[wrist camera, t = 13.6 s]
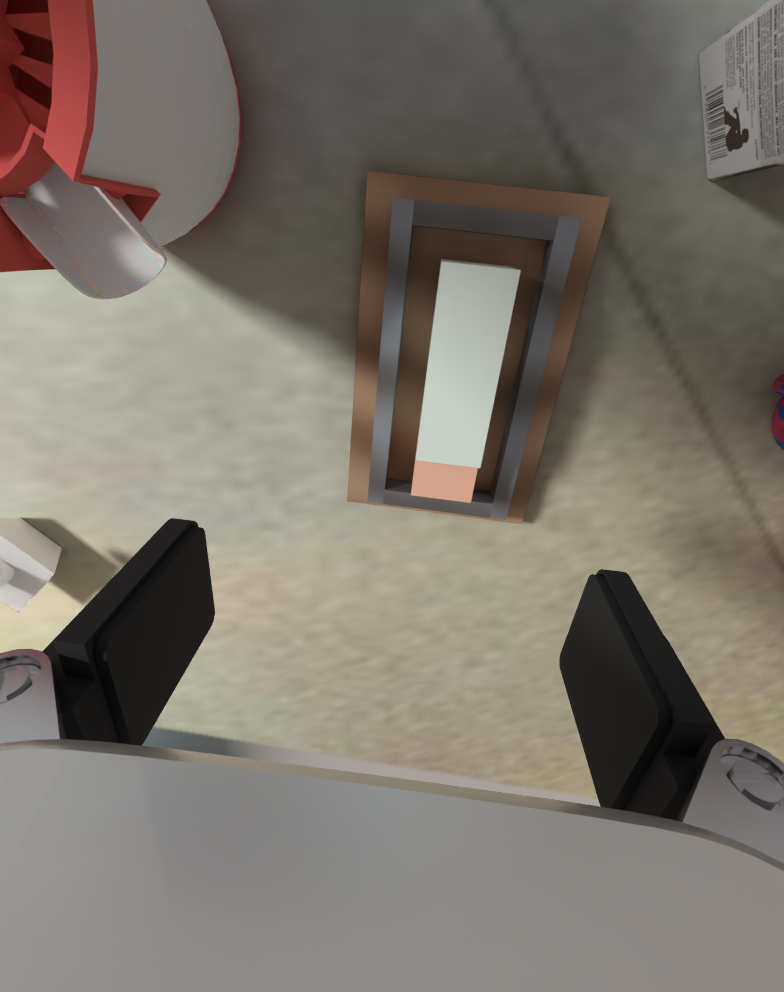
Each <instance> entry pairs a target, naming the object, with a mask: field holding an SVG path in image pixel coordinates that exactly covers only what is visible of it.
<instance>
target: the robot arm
mask: <svg viewBox="0 0 784 992" xmlns="http://www.w3.org/2000/svg"><path fill="white" fill-rule="evenodd" d="M214 615H215V608H214V600H213V592H212V585H211V577H210V569H209V561H208V553H207V545H206V537H205V531H204V529H203V528H199V527H198V524H197V522H195V521H190V520H182V519H173V518H172V519H169V520H168V521H167V522H166V523H165V524H164V525H163V526H162V527H161V528H160V529H159V530H158V531H157V532H156V533H155V534H154V535H153V536H152V537H151V539H150V540H149V541H148V542H147V543H146V544H145V545H144V546H143V547H142V548H141V549H140V550H139V551H138V552H137V553H136V554H135V555H134V556H133V557H132V558H131V559H130V561H129V562H128V563H127V564H126V565H125V566H124V567H123V568H122V569H121V570H120V571H119V572H118V573H117V574H116V575H115V576H114V577H113V578H112V579H111V580H110V581H109V582H108V583H107V584H106V586H105V587H104V588H103V589H102V590H101V591H100V592H99V593H98V594H97V595H96V596H95V597H94V598H93V599H92V600H91V601H90V602H89V603H88V604H87V605H86V606H85V608H84V609H83V610H82V611H81V612H80V613H79V614H78V615H77V616H76V617H75V618H74V619H73V620H72V621H71V622H70V623H69V624H68V625H67V626H66V627H65V628H64V630H63V631H62V632H61V633H60V634H59V635H58V636H57V637H56V638H55V639H54V640H53V641H52V642H51V643H50V644H49V645H48V646H47V647H46V648H45V649H44V651H43V652H41V651H38V650H33V649H16V650H12V651H8V652H4V653H0V992H784V764H783V763H782V762H781V761H780V760H779V759H777V758H776V757H774V756H773V755H772V754H770V753H769V752H767V751H766V750H764V749H762V748H760V747H758V746H756V745H754V744H752V743H749V742H745V741H742V740H739V739H725V738H724V736H723V734H722V733H721V731H720V729H719V727H718V726H717V724H716V722H715V721H714V719H713V717H712V715H711V714H710V712H709V710H708V708H707V707H706V705H705V703H704V702H703V700H702V698H701V696H700V695H699V693H698V691H697V690H696V688H695V686H694V684H693V683H692V681H691V679H690V678H689V676H688V674H687V672H686V671H685V669H684V667H683V666H682V664H681V662H680V660H679V659H678V657H677V655H676V654H675V652H674V650H673V648H672V647H671V645H670V643H669V642H668V640H667V639H666V637H665V636H664V635H663V633H662V632H661V630H660V628H659V626H658V625H657V623H656V621H655V619H654V618H653V616H652V614H651V613H650V611H649V609H648V607H647V606H646V604H645V602H644V601H643V599H642V597H641V595H640V594H639V592H638V590H637V588H636V587H635V585H634V583H633V582H632V580H631V578H630V576H629V575H628V574H627V573H625V572H620V571H611V570H603V569H601V570H599V571H598V572H597V574H596V575H593V574H592V575H590V576H589V578H588V580H587V583H586V586H585V588H584V591H583V594H582V597H581V599H580V602H579V605H578V608H577V610H576V613H575V616H574V618H573V621H572V624H571V627H570V629H569V632H568V635H567V637H566V640H565V643H564V646H563V648H562V651H561V654H560V670H561V673H562V677H563V680H564V684H565V687H566V691H567V694H568V697H569V701H570V704H571V708H572V711H573V714H574V718H575V721H576V725H577V728H578V732H579V735H580V738H581V742H582V745H583V749H584V752H585V755H586V759H587V762H588V766H589V769H590V773H591V776H592V779H593V783H594V786H595V790H596V793H597V796H598V800H599V803H600V806H601V807H598V806H592V805H585V804H579V803H572V802H566V801H559V800H552V799H546V798H538V797H531V796H523V795H517V794H508V793H502V792H495V791H488V790H480V789H473V788H466V787H459V786H452V785H444V784H437V783H430V782H422V781H415V780H407V779H400V778H392V777H384V776H377V775H369V774H362V773H355V772H347V771H339V770H332V769H324V768H317V767H309V766H302V765H294V764H286V763H278V762H271V761H263V760H255V759H246V758H239V757H231V756H223V755H215V754H208V753H199V752H192V751H184V750H176V749H167V748H158V747H148V746H142V744H143V743H144V741H145V740H146V738H147V736H148V734H149V732H150V730H151V729H152V727H153V726H154V724H155V722H156V721H157V719H158V717H159V715H160V714H161V712H162V710H163V709H164V707H165V705H166V703H167V702H168V700H169V698H170V696H171V695H172V693H173V691H174V690H175V688H176V686H177V684H178V683H179V681H180V679H181V677H182V676H183V674H184V672H185V671H186V669H187V667H188V665H189V664H190V662H191V660H192V658H193V657H194V655H195V653H196V652H197V650H198V648H199V646H200V645H201V643H202V641H203V639H204V638H205V636H206V634H207V633H208V631H209V629H210V627H211V625H212V623H213V620H214Z"/></svg>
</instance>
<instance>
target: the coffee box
mask: <svg viewBox="0 0 784 992" xmlns="http://www.w3.org/2000/svg"><path fill="white" fill-rule="evenodd" d="M699 64H700V80H701V95H702V110H703V125H704V140H705V156H706V170H707V178H708V180H710V181H714V180H719V179H723V178H727V177H732V176H736V175H740V174H744V173H749V172H754V171H758V170H763V169H767V168H772V167H776V166H781V165H784V0H769V1H768V2H767V3H765V4H764V5H763V6H761V7H760V8H758V9H757V10H756V11H754V12H753V13H751V14H750V15H749V16H747V17H746V18H745V19H744V20H742V21H741V22H739V23H738V24H737V25H735V26H734V27H733V28H731V29H730V30H729V31H727V32H726V33H725V34H723V35H722V36H721V37H719V38H718V39H717V40H716V41H714V42H713V43H712V44H710V45H709V46H708V47H706V48H705V49H704V50H702V51H701V52H700V54H699Z"/></svg>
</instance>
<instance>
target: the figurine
mask: <svg viewBox="0 0 784 992" xmlns="http://www.w3.org/2000/svg"><path fill="white" fill-rule="evenodd" d="M61 550H62V548H61V547H60V546H58V545H57V544H56V543H54V542H53V541H51V540H50V539H49V538H47V537H46V536H45V535H43V534H42V533H40V532H39V531H38V530H36V529H35V528H34V527H32V526H31V525H29V524H28V523H27V522H25V521H24V520H23V519H21V518H0V601H1V602H3V603H4V604H6V605H7V606H9V607H10V608H12V609H13V610H15V611H16V612H18V613H20V612H21V610H22V609H23V608H24V607H25V606H26V605H27V604H28V603H29V602H30V600H31V599H32V598H33V597H34V596H35V595H36V594H37V593H38V592H39V591H40V589H41V588H42V587H43V586H44V585H45V584H46V583H47V582H48V581H49V579H50V578H51V577H52V576H53V575H54V574H55V571H56V567H57V564H58V560H59V557H60V553H61Z"/></svg>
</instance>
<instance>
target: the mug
mask: <svg viewBox="0 0 784 992" xmlns="http://www.w3.org/2000/svg"><path fill="white" fill-rule="evenodd" d="M771 387H772V390H773V391H775V392H776V393H778V394H779V395H781V396H782V399H781V401H780V402H779V404H778V406H777V408H776V410H775V413H774V416H773V421H772V432H773V436H774V438H775V440H776V442H777V444H778V445H779V446H780V447H781V448H782V449H783V450H784V375H781V376H780V377H779V378H777V379H776V380H775V382H774V383H773V385H772V386H771Z"/></svg>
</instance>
